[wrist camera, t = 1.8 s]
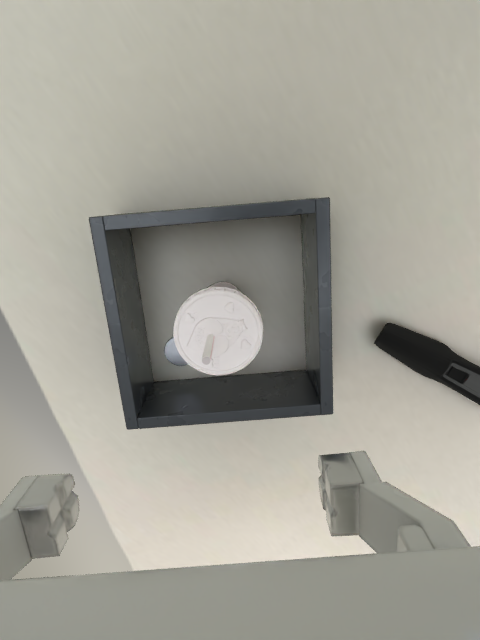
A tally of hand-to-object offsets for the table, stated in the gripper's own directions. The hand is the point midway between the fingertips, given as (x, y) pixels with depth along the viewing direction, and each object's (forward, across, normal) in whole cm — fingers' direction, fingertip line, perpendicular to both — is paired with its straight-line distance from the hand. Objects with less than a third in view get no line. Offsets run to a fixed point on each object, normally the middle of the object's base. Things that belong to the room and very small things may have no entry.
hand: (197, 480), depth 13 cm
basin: (+25, 0, 0) cm, 25 cm away
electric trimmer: (+25, -21, +8) cm, 33 cm away
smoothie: (+25, 0, 0) cm, 25 cm away
